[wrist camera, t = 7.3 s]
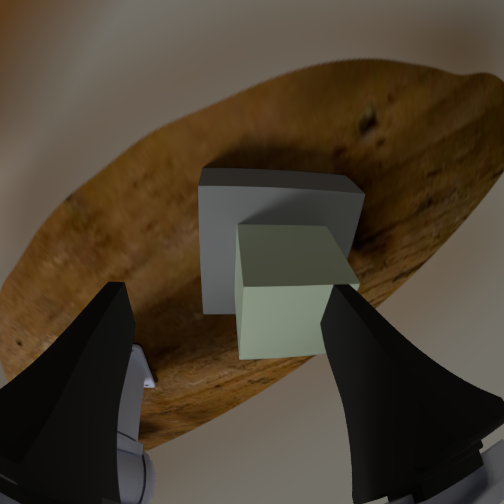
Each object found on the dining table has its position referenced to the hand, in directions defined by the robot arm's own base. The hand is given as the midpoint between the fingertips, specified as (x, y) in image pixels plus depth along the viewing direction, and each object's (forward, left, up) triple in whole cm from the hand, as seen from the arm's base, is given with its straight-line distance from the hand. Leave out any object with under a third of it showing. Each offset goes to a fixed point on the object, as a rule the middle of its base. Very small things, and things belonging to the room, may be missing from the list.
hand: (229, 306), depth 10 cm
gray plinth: (+3, -3, -9) cm, 10 cm away
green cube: (+3, -3, -6) cm, 8 cm away
